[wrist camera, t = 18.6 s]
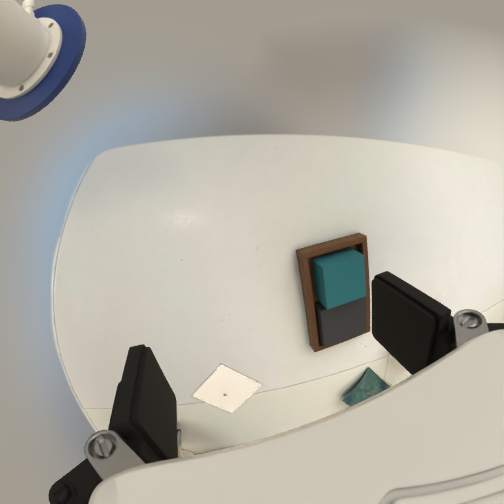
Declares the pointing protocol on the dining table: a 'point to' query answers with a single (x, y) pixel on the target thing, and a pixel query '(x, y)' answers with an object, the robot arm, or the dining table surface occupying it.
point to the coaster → (226, 389)
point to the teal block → (339, 277)
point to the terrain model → (365, 388)
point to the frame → (308, 282)
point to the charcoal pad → (340, 321)
